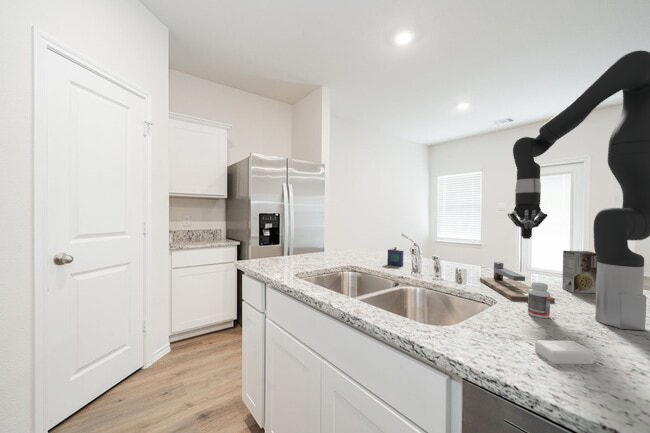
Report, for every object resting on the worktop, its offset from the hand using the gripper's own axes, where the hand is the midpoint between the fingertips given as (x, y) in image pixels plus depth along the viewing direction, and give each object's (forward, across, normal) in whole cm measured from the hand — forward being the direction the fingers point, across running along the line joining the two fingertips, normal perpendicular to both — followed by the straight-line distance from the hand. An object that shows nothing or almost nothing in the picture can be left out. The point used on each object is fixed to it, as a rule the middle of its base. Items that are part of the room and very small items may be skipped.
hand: (526, 238), depth 103 cm
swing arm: (+20, 0, +13) cm, 24 cm away
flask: (+22, -42, +52) cm, 70 cm away
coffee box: (+22, +27, +13) cm, 37 cm away
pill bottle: (+22, -6, -19) cm, 30 cm away
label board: (+22, 0, +9) cm, 24 cm away
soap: (+22, -16, -46) cm, 53 cm away
